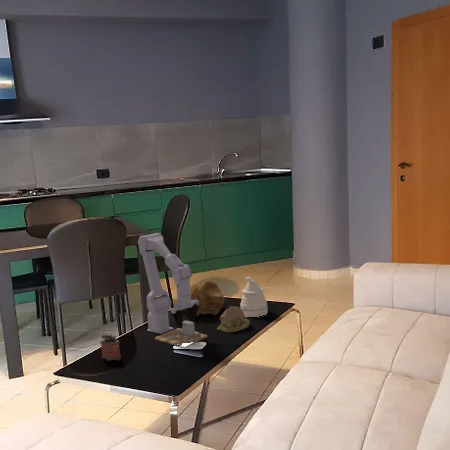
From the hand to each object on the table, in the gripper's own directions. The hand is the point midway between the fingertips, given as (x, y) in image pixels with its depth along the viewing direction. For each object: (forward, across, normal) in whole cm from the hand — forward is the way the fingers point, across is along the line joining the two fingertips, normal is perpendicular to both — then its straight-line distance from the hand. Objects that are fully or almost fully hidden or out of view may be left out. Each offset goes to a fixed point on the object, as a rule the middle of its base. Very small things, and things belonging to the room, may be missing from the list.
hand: (186, 325), depth 236 cm
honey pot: (+7, +43, -2) cm, 44 cm away
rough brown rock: (+7, +34, +19) cm, 40 cm away
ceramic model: (+7, +23, -6) cm, 25 cm away
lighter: (+7, -31, +12) cm, 34 cm away
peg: (+6, 0, -1) cm, 6 cm away
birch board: (+7, 0, +4) cm, 8 cm away
